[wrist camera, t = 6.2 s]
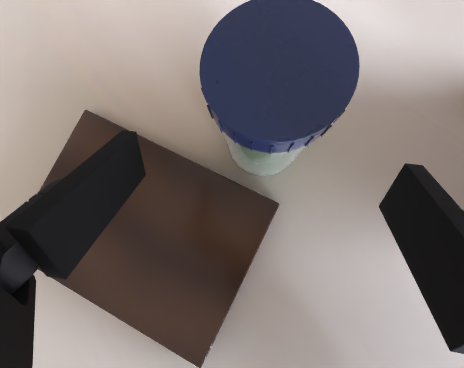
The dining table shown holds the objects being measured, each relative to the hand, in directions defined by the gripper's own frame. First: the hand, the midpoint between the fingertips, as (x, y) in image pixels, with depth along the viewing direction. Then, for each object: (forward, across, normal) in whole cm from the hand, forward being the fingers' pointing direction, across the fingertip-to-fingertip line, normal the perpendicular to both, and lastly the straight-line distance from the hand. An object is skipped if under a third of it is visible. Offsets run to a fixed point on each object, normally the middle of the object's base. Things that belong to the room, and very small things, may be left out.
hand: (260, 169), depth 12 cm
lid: (+3, 0, +4) cm, 5 cm away
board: (+4, -11, -11) cm, 16 cm away
